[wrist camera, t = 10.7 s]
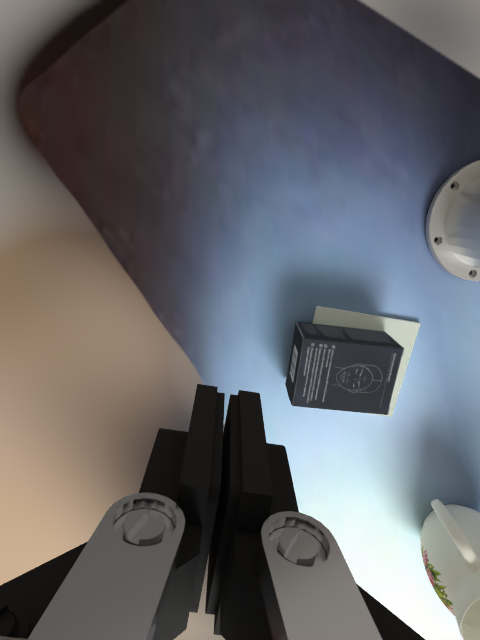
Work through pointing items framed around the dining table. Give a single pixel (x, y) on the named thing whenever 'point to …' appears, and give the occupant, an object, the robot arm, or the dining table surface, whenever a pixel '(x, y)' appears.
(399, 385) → the mat
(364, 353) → the box
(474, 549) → the pitcher
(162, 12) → the dining table surface
